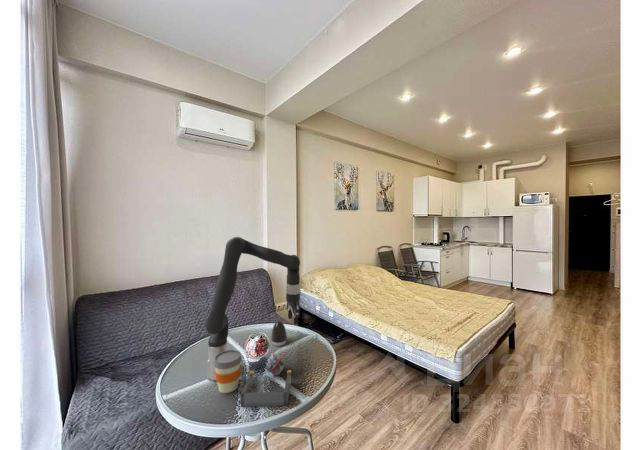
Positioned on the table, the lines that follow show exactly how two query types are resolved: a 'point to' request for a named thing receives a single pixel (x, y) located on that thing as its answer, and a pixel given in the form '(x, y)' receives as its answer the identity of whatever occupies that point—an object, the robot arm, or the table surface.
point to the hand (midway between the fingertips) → (292, 321)
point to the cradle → (265, 394)
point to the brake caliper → (275, 364)
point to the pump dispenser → (278, 334)
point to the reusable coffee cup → (227, 370)
